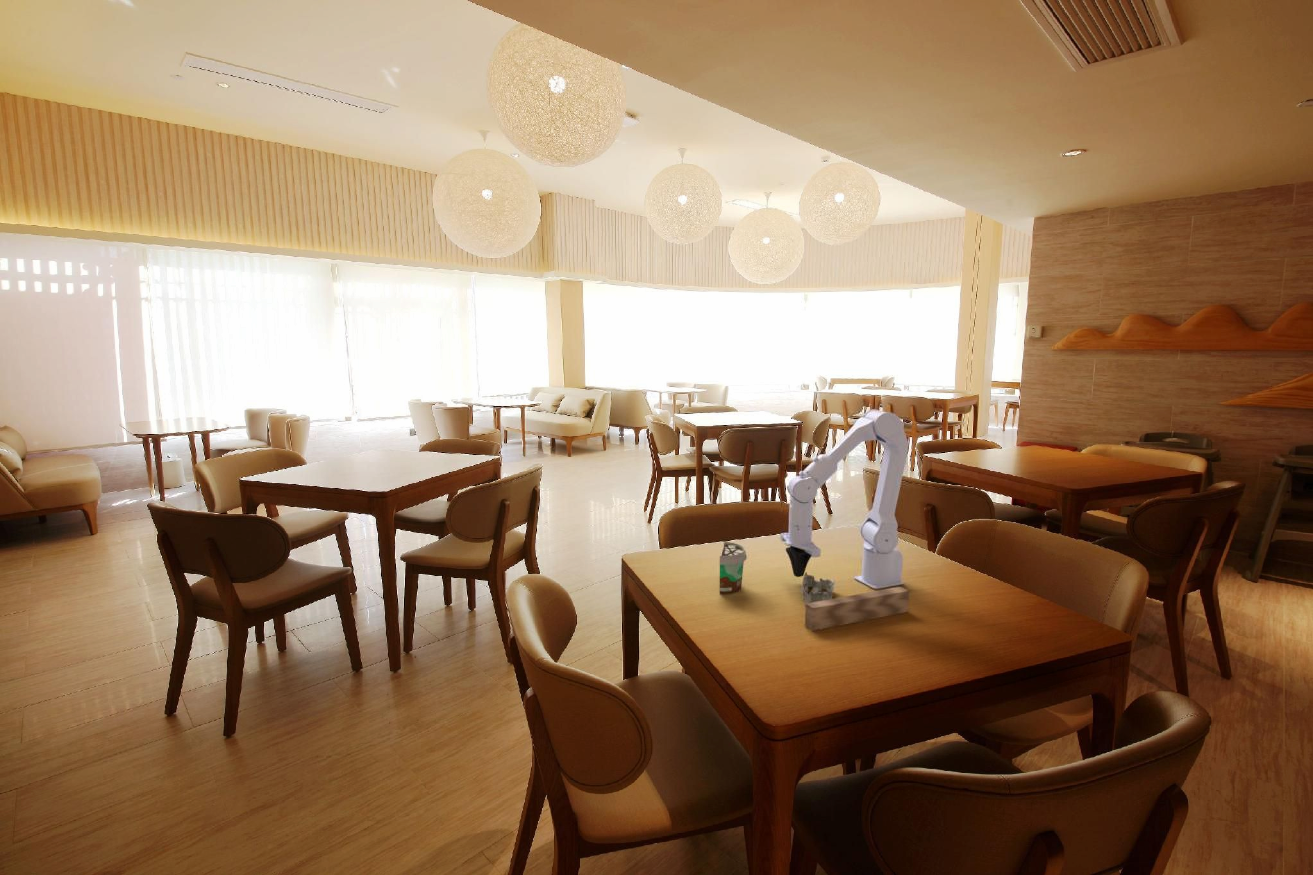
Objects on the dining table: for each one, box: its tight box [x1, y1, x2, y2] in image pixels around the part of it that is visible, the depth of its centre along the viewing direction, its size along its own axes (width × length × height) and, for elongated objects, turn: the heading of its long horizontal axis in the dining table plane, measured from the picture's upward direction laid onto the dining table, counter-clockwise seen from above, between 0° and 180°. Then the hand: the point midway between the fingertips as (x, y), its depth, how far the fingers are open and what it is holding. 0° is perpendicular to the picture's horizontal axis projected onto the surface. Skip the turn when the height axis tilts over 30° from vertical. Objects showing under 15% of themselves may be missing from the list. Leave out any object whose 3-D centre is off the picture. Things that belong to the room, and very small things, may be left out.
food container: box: [719, 541, 748, 595], centre depth 147 cm, size 12×6×10 cm, turn 168°
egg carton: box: [800, 572, 836, 604], centre depth 142 cm, size 11×8×4 cm
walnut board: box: [804, 586, 910, 632], centre depth 130 cm, size 26×2×5 cm, turn 111°
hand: (798, 575), depth 150 cm, fingers closed
